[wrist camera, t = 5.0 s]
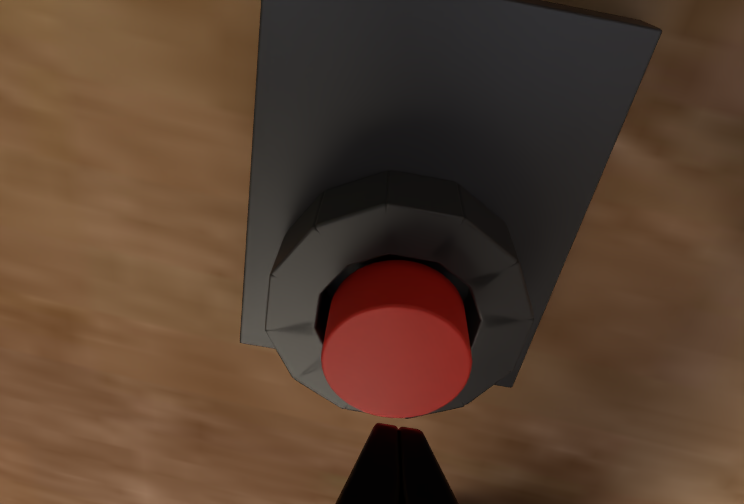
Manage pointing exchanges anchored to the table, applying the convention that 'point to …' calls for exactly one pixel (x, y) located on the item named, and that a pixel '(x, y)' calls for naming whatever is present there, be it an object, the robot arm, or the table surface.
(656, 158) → the table surface
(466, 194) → the button block
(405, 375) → the release button
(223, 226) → the table surface
